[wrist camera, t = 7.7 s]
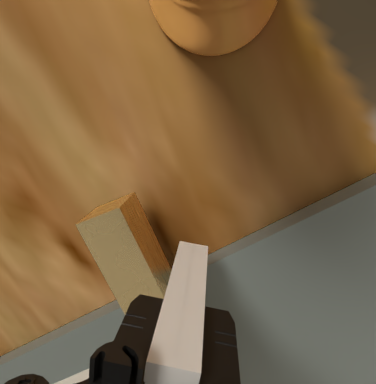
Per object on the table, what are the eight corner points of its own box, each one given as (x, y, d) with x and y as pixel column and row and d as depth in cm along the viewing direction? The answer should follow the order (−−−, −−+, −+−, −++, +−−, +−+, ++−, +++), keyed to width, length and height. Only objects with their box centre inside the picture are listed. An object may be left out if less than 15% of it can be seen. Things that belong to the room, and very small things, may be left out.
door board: (-1, 357, 20) (-15, 373, 18) (374, 173, 14) (391, 178, 13) (92, 459, 22) (86, 479, 21) (447, 338, 16) (466, 356, 15)
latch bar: (185, 398, 17) (179, 469, 14) (86, 211, 14) (45, 242, 11) (238, 386, 16) (246, 458, 13) (146, 187, 13) (125, 211, 10)
